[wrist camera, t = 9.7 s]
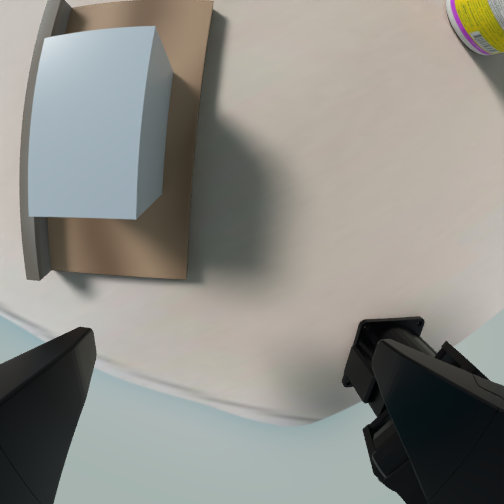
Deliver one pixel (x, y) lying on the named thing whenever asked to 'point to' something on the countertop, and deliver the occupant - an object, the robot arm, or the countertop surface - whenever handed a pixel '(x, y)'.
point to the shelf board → (175, 161)
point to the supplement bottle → (478, 24)
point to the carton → (99, 124)
